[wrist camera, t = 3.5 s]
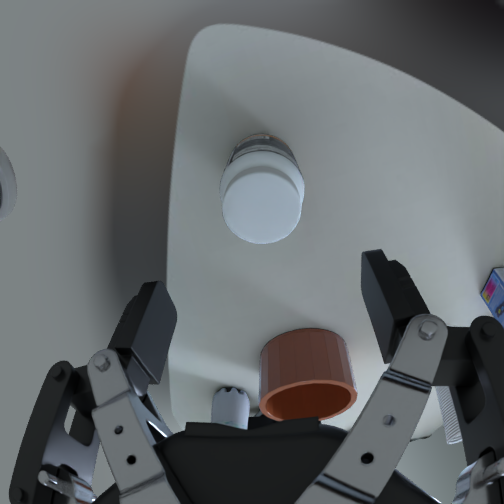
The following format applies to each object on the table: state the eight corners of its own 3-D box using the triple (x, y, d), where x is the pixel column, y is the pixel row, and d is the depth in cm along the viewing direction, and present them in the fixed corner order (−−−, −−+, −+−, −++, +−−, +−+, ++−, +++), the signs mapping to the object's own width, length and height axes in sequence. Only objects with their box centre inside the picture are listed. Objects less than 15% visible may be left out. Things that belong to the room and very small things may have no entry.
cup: (449, 343, 40) (480, 420, 27) (470, 351, 41) (498, 418, 28) (415, 372, 44) (438, 446, 31) (439, 377, 46) (461, 443, 33)
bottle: (246, 404, 49) (241, 505, 32) (210, 398, 48) (198, 500, 32) (255, 387, 45) (251, 501, 29) (214, 381, 45) (201, 496, 28)
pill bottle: (278, 201, 27) (285, 264, 19) (220, 179, 26) (200, 234, 18) (304, 147, 24) (328, 188, 16) (243, 122, 23) (232, 149, 15)
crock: (267, 383, 44) (267, 426, 38) (252, 334, 38) (249, 386, 31) (345, 372, 43) (353, 415, 36) (348, 321, 36) (361, 372, 29)
